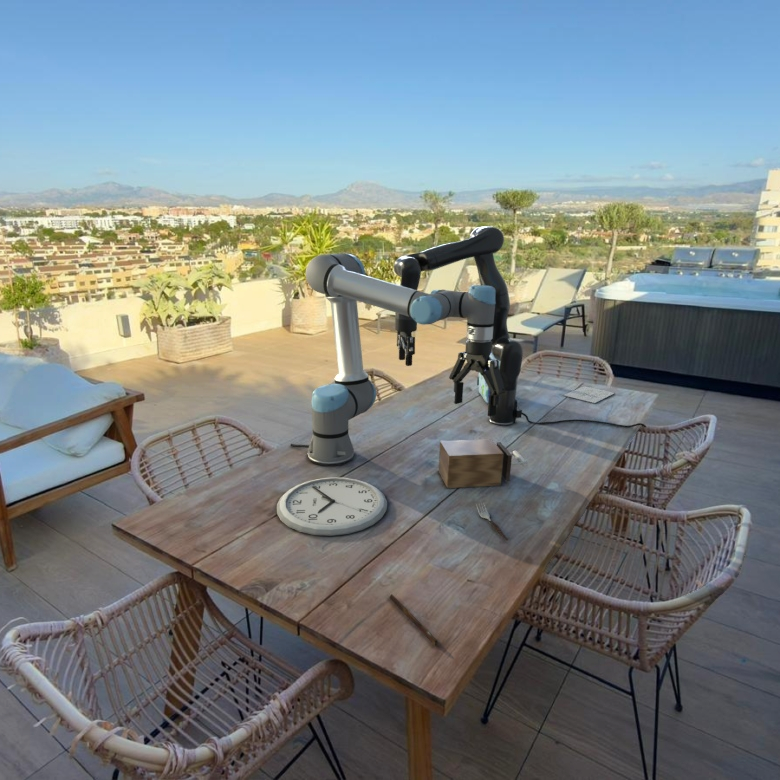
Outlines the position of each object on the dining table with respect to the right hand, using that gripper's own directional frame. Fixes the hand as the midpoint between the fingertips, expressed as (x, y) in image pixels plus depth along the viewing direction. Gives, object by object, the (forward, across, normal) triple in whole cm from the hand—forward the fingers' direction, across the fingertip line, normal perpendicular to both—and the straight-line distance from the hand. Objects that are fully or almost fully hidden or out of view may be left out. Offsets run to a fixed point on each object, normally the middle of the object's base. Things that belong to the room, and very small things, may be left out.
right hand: (405, 362), depth 184 cm
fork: (+27, -64, -5) cm, 70 cm away
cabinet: (+27, -38, -10) cm, 48 cm away
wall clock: (+27, -45, +33) cm, 62 cm away
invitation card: (+28, +28, -98) cm, 106 cm away
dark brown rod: (+27, -92, +25) cm, 99 cm away
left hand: (+7, -34, -12) cm, 36 cm away
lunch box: (+28, +31, -50) cm, 65 cm away
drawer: (+26, -39, -16) cm, 50 cm away
